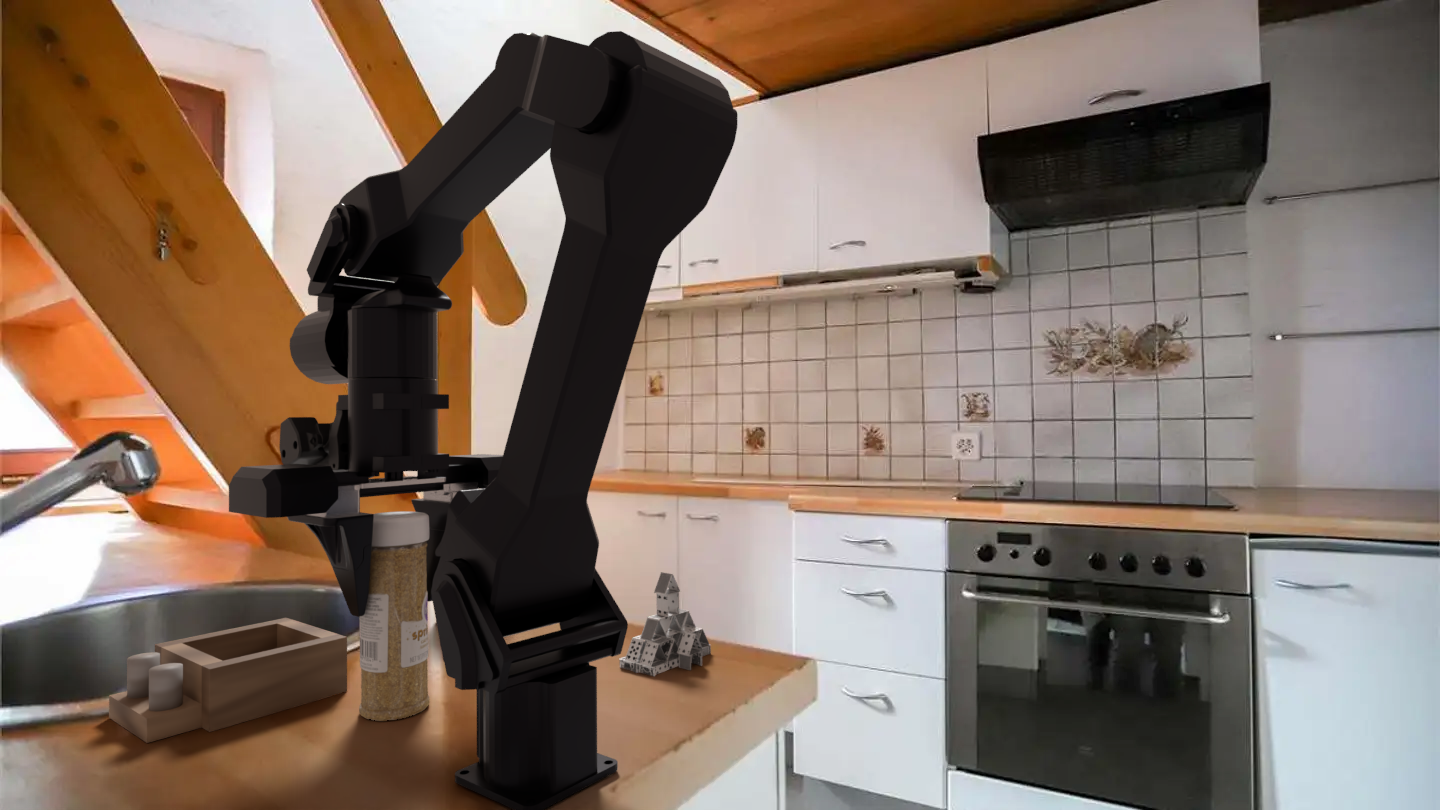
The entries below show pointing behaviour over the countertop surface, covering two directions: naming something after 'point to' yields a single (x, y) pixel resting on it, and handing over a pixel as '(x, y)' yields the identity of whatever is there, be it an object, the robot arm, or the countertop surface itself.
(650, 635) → the house of cards
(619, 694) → the countertop surface
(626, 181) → the robot arm
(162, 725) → the slot block
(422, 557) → the sprinkles bottle
